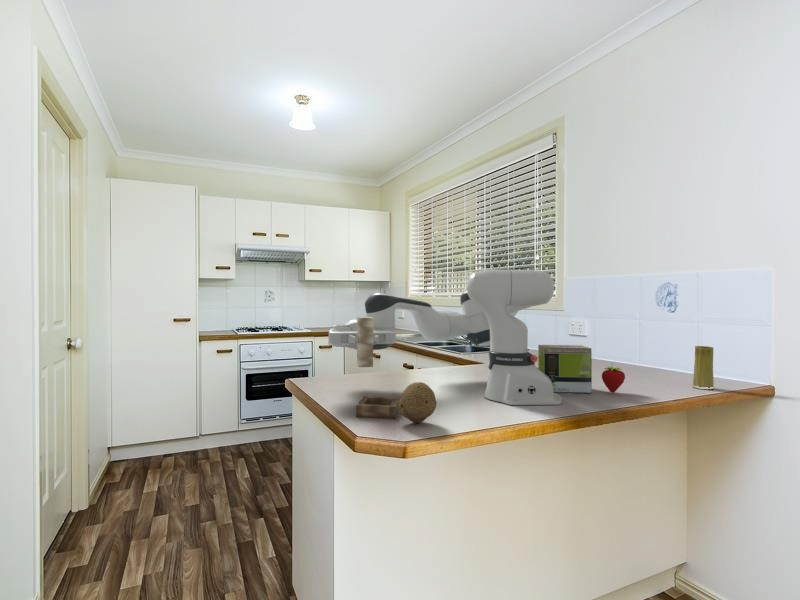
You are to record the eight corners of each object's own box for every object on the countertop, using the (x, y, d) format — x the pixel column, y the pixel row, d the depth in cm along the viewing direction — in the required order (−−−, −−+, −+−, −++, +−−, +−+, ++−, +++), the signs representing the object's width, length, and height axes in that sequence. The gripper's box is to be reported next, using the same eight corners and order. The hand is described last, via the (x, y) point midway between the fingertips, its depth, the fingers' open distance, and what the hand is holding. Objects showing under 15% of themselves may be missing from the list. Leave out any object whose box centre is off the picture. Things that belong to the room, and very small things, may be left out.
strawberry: (629, 394, 144) (630, 363, 144) (609, 395, 142) (609, 363, 142) (616, 390, 150) (617, 360, 150) (596, 391, 148) (597, 360, 148)
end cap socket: (399, 408, 123) (400, 397, 123) (395, 418, 113) (395, 406, 113) (363, 407, 124) (363, 396, 124) (356, 417, 114) (356, 405, 114)
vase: (718, 390, 152) (719, 348, 152) (699, 390, 152) (700, 347, 152) (706, 386, 158) (707, 345, 158) (688, 386, 158) (689, 345, 158)
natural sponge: (444, 425, 107) (445, 384, 107) (412, 431, 103) (413, 387, 103) (423, 416, 115) (424, 377, 115) (393, 421, 111) (393, 380, 111)
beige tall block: (370, 364, 132) (371, 317, 132) (373, 366, 128) (373, 317, 128) (357, 365, 131) (357, 316, 131) (359, 367, 127) (359, 317, 127)
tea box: (582, 387, 154) (583, 344, 154) (591, 394, 144) (592, 347, 144) (537, 386, 155) (538, 343, 155) (543, 392, 145) (544, 346, 145)
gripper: (390, 344, 145) (400, 350, 131) (326, 345, 140) (330, 351, 126) (391, 325, 144) (401, 328, 131) (326, 325, 140) (330, 329, 126)
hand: (365, 340), depth 129 cm, fingers closed on beige tall block, 4 cm apart
